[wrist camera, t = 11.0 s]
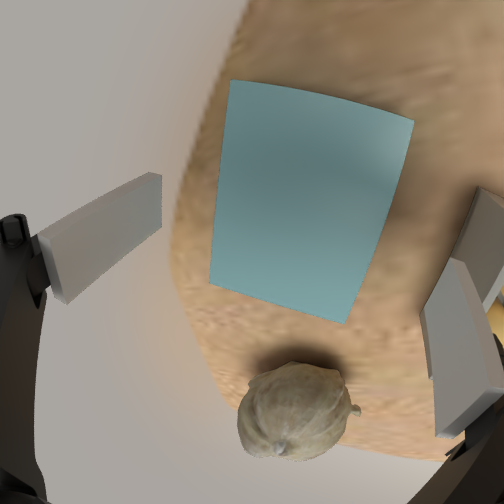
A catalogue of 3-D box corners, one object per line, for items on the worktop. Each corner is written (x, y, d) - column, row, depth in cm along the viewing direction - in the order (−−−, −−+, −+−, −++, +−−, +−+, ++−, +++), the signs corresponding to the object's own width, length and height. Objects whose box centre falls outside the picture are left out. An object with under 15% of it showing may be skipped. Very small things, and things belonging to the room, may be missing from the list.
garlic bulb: (272, 364, 30) (207, 436, 24) (288, 315, 24) (204, 406, 18) (349, 413, 26) (294, 494, 20) (388, 375, 21) (325, 486, 14)
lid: (247, 81, 16) (230, 79, 14) (405, 117, 14) (414, 120, 12) (224, 262, 22) (209, 283, 20) (346, 299, 21) (344, 324, 18)
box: (478, 186, 14) (521, 226, 9) (545, 220, 13) (589, 265, 8) (419, 315, 20) (428, 379, 15) (484, 332, 18) (502, 391, 13)
